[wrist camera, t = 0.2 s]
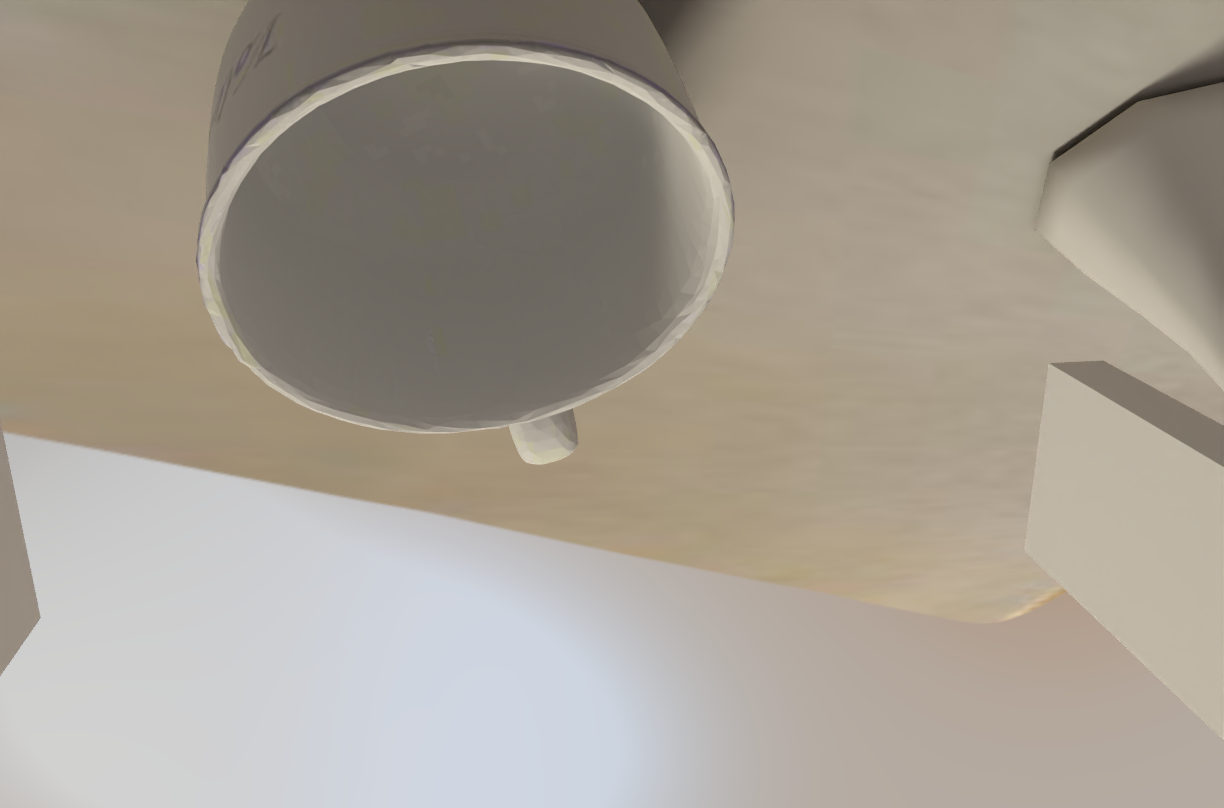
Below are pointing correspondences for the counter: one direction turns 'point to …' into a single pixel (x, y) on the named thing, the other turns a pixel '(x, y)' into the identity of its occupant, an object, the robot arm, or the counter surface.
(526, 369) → the teacup
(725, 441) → the counter surface
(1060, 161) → the flask
